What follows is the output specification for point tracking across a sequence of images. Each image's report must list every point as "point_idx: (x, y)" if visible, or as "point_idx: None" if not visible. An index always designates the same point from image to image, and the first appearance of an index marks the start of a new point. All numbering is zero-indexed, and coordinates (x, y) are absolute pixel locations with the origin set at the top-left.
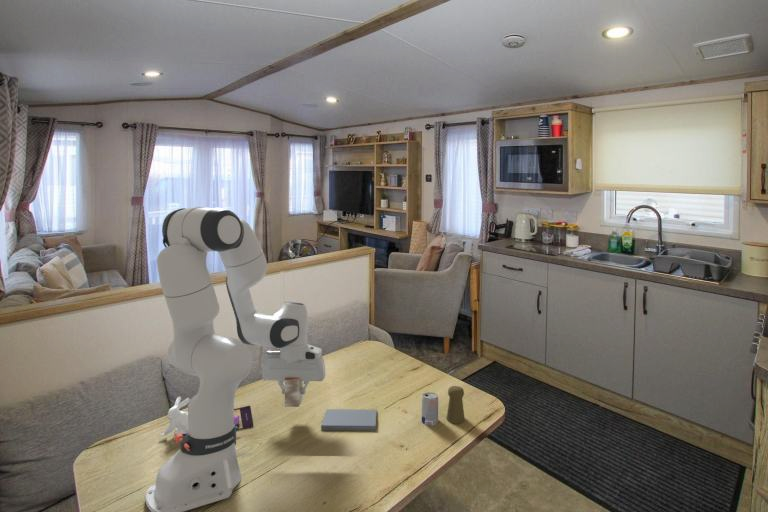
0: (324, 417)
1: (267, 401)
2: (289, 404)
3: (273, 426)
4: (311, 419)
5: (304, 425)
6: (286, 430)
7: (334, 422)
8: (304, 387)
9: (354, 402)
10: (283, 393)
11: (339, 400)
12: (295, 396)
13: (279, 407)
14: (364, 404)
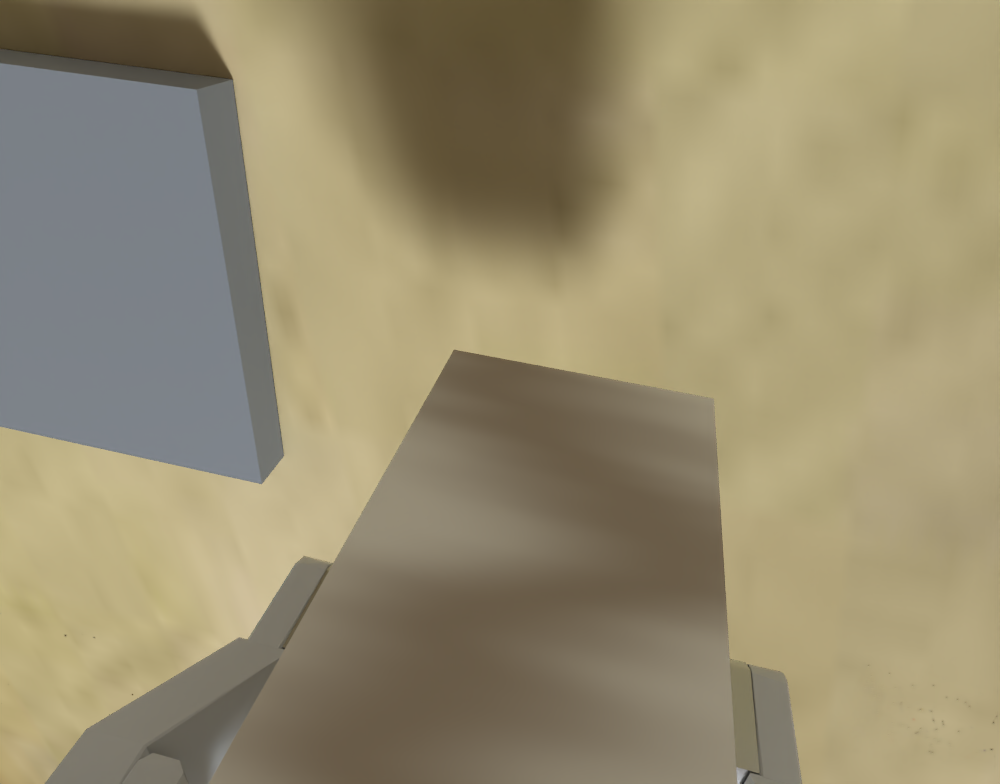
0: (225, 308)
1: (870, 774)
2: (617, 404)
3: (859, 264)
4: (404, 368)
5: (456, 236)
6: (678, 119)
7: (68, 157)
8: (225, 675)
9: (126, 583)
10: (747, 668)
11: (248, 637)
12: (460, 488)
13: (756, 657)
14: (41, 538)
